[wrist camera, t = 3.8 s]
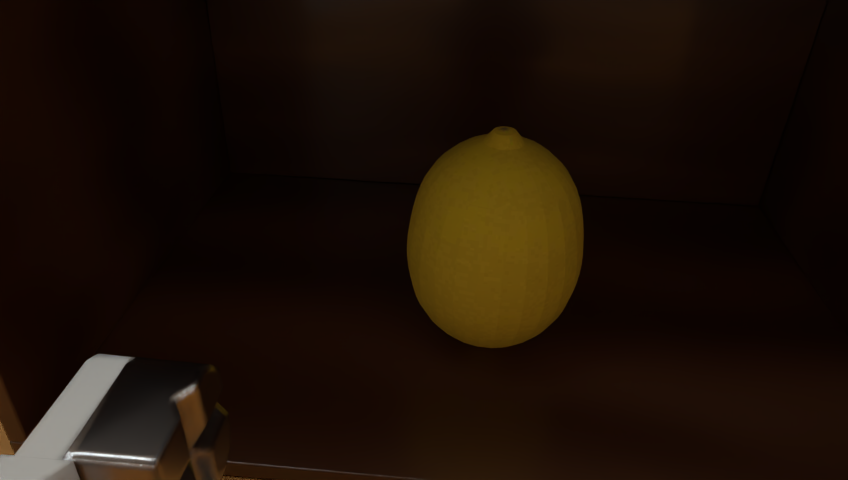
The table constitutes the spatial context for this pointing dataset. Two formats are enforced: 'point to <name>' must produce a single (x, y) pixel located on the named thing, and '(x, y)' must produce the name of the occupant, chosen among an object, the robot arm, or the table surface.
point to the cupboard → (390, 217)
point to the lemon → (495, 239)
